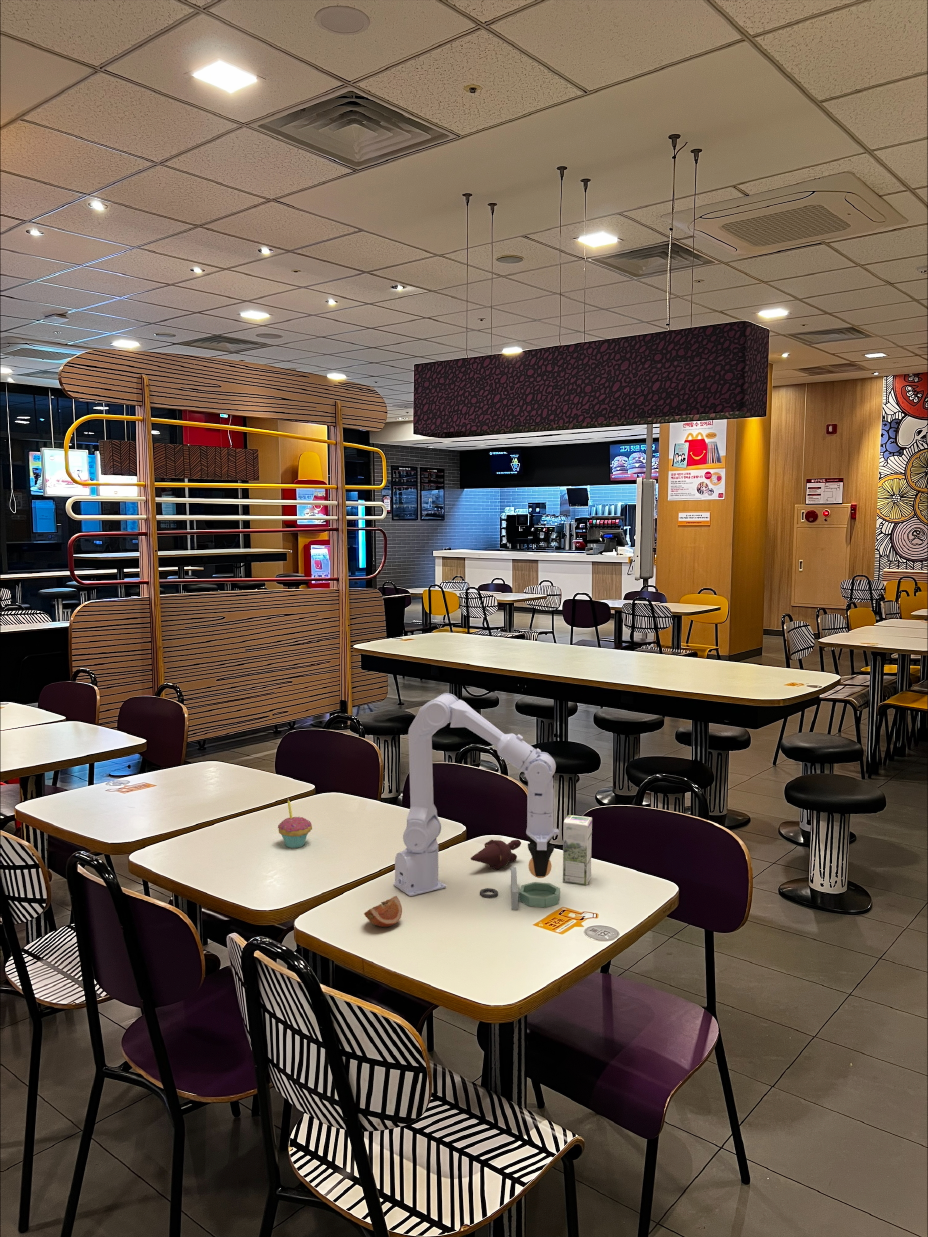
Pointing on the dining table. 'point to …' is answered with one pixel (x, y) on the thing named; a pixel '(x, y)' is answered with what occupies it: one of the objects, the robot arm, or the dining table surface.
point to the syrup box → (577, 849)
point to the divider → (514, 888)
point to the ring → (483, 891)
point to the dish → (539, 894)
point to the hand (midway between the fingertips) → (539, 871)
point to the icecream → (497, 853)
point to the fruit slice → (385, 913)
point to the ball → (531, 869)
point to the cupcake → (294, 830)
